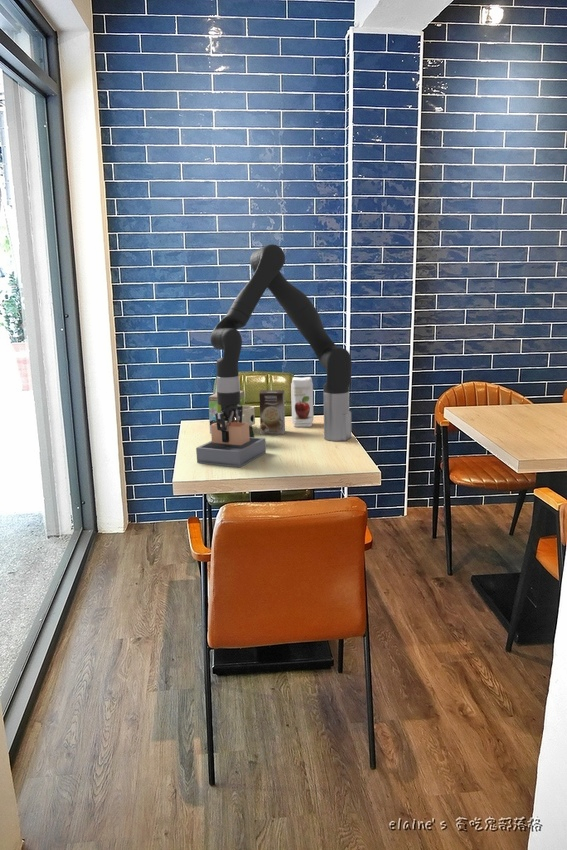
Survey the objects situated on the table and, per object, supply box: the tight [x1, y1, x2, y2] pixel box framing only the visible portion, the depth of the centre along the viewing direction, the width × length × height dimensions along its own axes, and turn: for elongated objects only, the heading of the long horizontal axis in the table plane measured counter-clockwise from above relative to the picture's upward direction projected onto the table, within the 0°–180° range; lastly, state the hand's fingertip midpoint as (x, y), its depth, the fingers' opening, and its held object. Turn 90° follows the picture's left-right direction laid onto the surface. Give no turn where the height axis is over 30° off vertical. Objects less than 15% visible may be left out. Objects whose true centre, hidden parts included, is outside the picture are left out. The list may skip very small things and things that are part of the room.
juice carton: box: [290, 376, 314, 428], centre depth 257 cm, size 8×9×19 cm
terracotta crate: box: [210, 421, 250, 445], centre depth 215 cm, size 11×6×6 cm, turn 65°
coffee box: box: [259, 389, 286, 436], centre depth 247 cm, size 9×6×16 cm
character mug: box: [239, 405, 256, 438], centre depth 235 cm, size 11×7×13 cm, turn 179°
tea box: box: [208, 390, 246, 434], centre depth 254 cm, size 15×10×15 cm
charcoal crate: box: [195, 436, 267, 468], centre depth 217 cm, size 16×18×5 cm
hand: (230, 439), depth 216 cm, fingers closed on terracotta crate, 6 cm apart
